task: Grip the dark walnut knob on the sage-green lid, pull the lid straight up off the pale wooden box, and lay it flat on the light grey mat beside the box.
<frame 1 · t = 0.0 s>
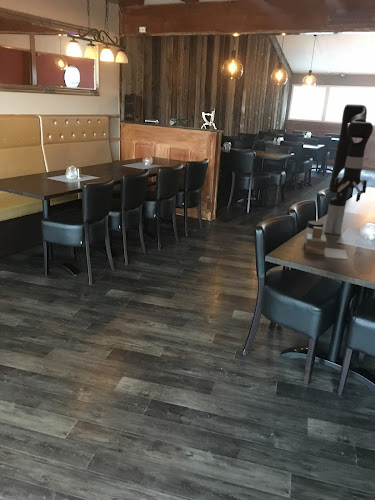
hand: (347, 200, 198), 29 cm above the table, tool pointing down, fingers open, 8 cm apart
lid: (315, 241, 213), point 5 cm above the table, touching box
jar: (312, 244, 227), on the table
mat: (335, 253, 212), on the table
box: (314, 251, 215), on the table
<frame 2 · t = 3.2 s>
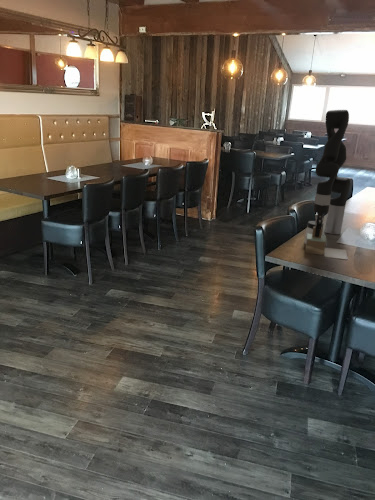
hand: (316, 235, 212), 9 cm above the table, tool pointing down, fingers closed on lid, 3 cm apart
lid: (315, 241, 213), point 6 cm above the table, touching box, gripper
everything else where it was.
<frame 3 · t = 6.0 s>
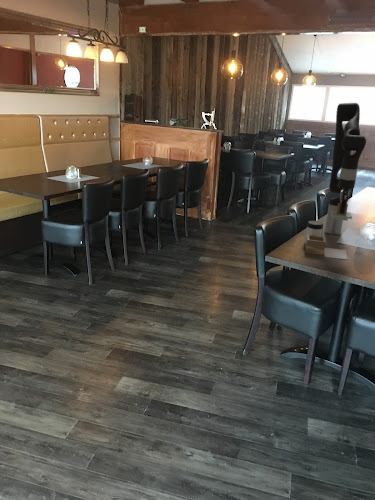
hand: (341, 212, 205), 22 cm above the table, tool pointing down, fingers closed on lid, 3 cm apart
lid: (340, 218, 206), point 19 cm above the table, touching gripper
everything else where it was.
when the fingers open (5 cm above the table, at t = 8.9 s): lid drops 1 cm, resting on mat.
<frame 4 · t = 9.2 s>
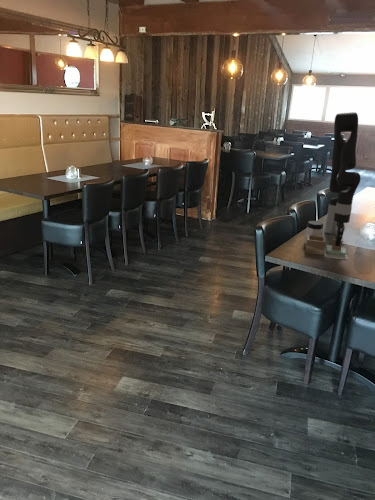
hand: (337, 243, 211), 5 cm above the table, tool pointing down, fingers open, 5 cm apart
lid: (335, 253, 212), resting on mat
everything else where it was.
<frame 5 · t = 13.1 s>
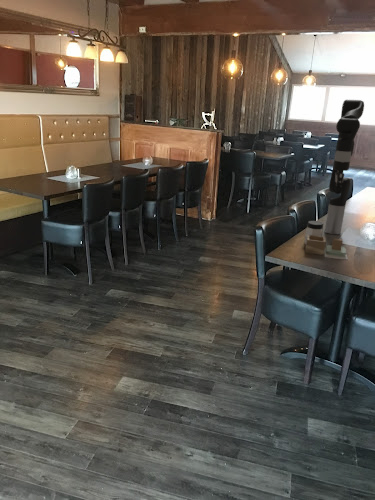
hand: (336, 192, 212), 30 cm above the table, tool pointing down, fingers open, 8 cm apart
nothing on the table moved.
at the end: lid inside the target area (0.1 cm from its centre), resting on mat; lid tilted 0°; the gripper is holding nothing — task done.
